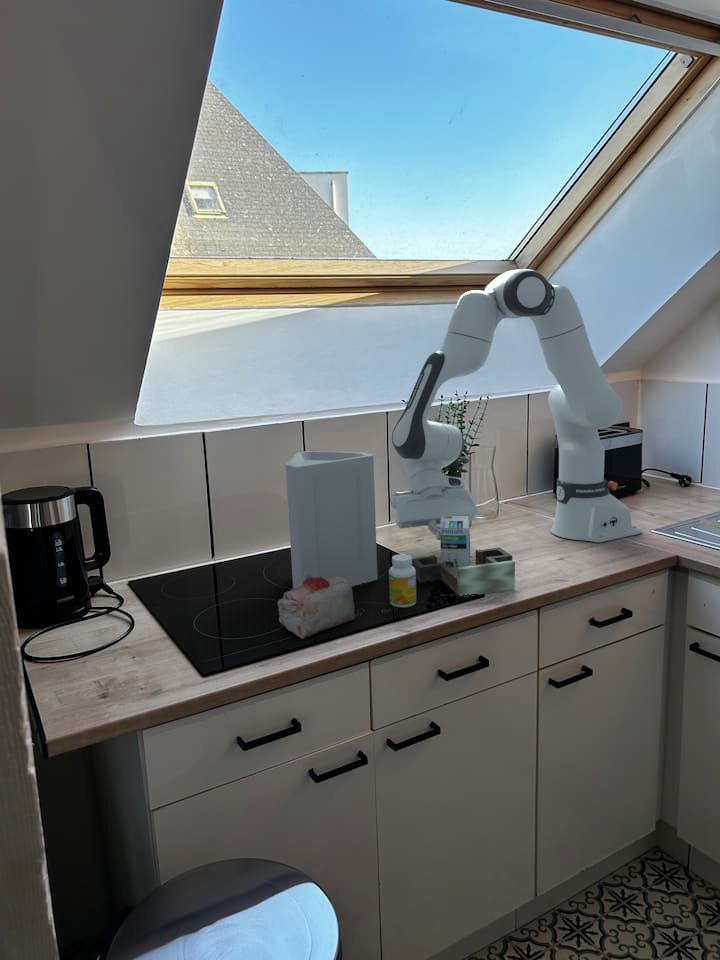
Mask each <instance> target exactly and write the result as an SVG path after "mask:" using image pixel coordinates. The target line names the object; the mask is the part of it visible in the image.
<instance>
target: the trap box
mask: <svg viewBox="0 0 720 960" xmlns="http://www.w3.org/2000/svg"><path fill="white" fill-rule="evenodd" d="M411 566H413V567H414V568H415V571H416V581H418V582H419V583H420V584H421V583H422V582H424V583H427V582H426V581H431V582H436V581H435V580H439V581H441V580H442V581H443V582H444V583H445V584H444V583H443V582H442V581H441V582H442V583H443V584H444V585H446V584H447V585H448V586H449V587H450V588H451V589H452V590H453V591H454V592H455V593H456V594H455V593H454V592H453V591H452V590H451V589H450V588H449V587H448V586H447V585H446V586H447V587H448V588H449V589H450V590H451V591H452V592H453V593H454V594H455V595H457V594H458V595H459V596H463V595H468V594H469V595H471V594H478V595H485V594H492V593H498V592H499V593H500V592H506V591H513V590H516V589H515V588H516V586H515V583H516V582H515V581H516V578H515V577H516V573H515V572H516V562H515V561H514V560H513V555H512V554H510V553H509V552H508V551H506V550H504V549H503V548H501V547H493V548H485V549H475V564H473V565H470V566H465V567H458V568H457V573H456V572H454V571H453V570H452V569H451V568H450V567H448V566H447V565H446V564H445V563H441V562H438V557H437V555H435V554H434V555H429V556H421V557H414V558H413V557H412V564H411ZM458 595H457V596H458ZM459 596H458V597H459ZM471 596H472V595H471Z"/></svg>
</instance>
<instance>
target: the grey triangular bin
mask: <svg viewBox="0 0 720 960" xmlns="http://www.w3.org/2000/svg"><path fill="white" fill-rule="evenodd" d="M285 475H286V492H287V493H286V494H287V509H288V510H287V512H288V523H289V524H288V525H289V540H290V541H289V543H290V557H291V559H290V560H291V575H292V589H294V588H297V587H300V586H303V581H304V580H305V579H306V578H307V575H308V574H309V575H311V577H313V578H316V577H318V578H319V577H322V578H324V579H327V578H331V577H334V576H339V577H342V578H344V579H345V580H346V581H347V582H350V583H351V587H352V588H353V587H355V585H356V586H359V585H362V583H363V584H366V583H370V582H373V581H374V580H375V581H377V580H378V578H379V577H378V558H377V557H378V555H377V553H378V552H377V549H378V548H377V526H376V499H375V497H376V496H375V495H376V493H375V465H374V454H371V453H367V452H360V451H359V452H357V451H355V452H354V451H325V450H323V451H322V450H321V451H319V450H315V451H314V450H307V451H300V452H299V451H298V452H296V453H295V454H294V455H293V456H292V457H291V458H290V459H289V460H288V461H286V463H285Z"/></svg>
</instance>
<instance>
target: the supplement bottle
mask: <svg viewBox="0 0 720 960" xmlns="http://www.w3.org/2000/svg"><path fill="white" fill-rule="evenodd" d="M412 558H413V557H412V556H411V555H409V554H405V553H404V554H403V553H400V554H395V555H392V557H391V564H392V566H391V567H390V568H389V569H388V580H389V581H388V582H389V586H388V587H389V604H390V605H391V606H393V607H396V608H410V607H412V606H414V605H416V603H417V579H416V571H415V568H414V567H413V566H411V564H412Z"/></svg>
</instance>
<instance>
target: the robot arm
mask: <svg viewBox="0 0 720 960" xmlns="http://www.w3.org/2000/svg"><path fill="white" fill-rule="evenodd" d="M523 317H524V318H525V317H526V318H527V317H528V318H529V319H530V321H532V323H533V325H534V327H535V330H536V334H537V337H538V341H539V343H540V346H541V350H542V352H543V353H542V354H543V356H544V360H545V363H546V366H547V369H548V370H549V372H551V374H552V375H553V377H554V378H555V380H556V382H557V383H558V384H556V385H555V386H554V387H553V388H552V389H551V391H549V394H548V400H547V403H548V404H547V405H548V409H549V410H550V412H551V414H552V418H553V423H554V428H555V432H556V437H557V443H558V478H557V479H556V501H557V503H556V510H555V515H554V520H553V523H552V527H551V529H550V532H551V533H552V534H553V535H555V536H557V537H561V538H563V539H568V540H577V541H586V542H588V541H589V542H593V543H603V542H607V541H608V542H609V541H612V540H617V539H621V538H626V537H631V536H635V535H639V534H641V533H642V531H641V528H640V526H638V525H636V524H635V523H633V522H632V514H631V511H630V509H629V507H628V506H627V505H626V504H624V503H623V502H622V501H620V500H619V499H617V498H616V497H615V496H614V495H612V494H611V493H610V489H611V490H612V491H616V490H617V488H618V487H619V484H618V483H617V482H616V481H612V480H610V481H608V480H607V479H605V448H604V445H603V443H602V441H601V439H600V435H599V431H598V430H602V429H608V428H610V427H611V426H613V425H614V424H616V423H617V421H618V420H619V419H620V417H621V415H622V412H623V403H622V399H621V397H620V396H619V394H618V393H617V392H616V390H614V389H613V388H612V386H611V384H610V383H609V381H608V379H607V378H606V375H605V374H604V372H603V370H602V369H601V368H602V367H601V366H600V365H599V363H598V361H597V359H596V357H595V354H594V352H593V349H592V346H591V343H590V340H589V336H588V332H587V330H586V326H585V323H584V320H583V316H582V314H581V311H580V308H579V305H578V304H577V302H576V300H575V297H574V295H573V294H572V292H571V290H570V289H569V288H568V287H567V286H565V285H561V284H551V283H550V282H549V281H548V280H547V279H546V277H545V276H544V275H543V274H541V273H540V272H539V271H537V270H533V269H531V268H530V269H529V268H523V269H513V270H509V271H506V272H504V273H502V274H501V273H500V274H498V275H496V276H495V277H493V278H492V279H491V280H489V281H488V283H486V285H485V286H484V288H482V290H479V289H478V290H477V289H475V290H474V289H473V290H469V291H467V292H465V293H463V294H462V295H461V296H460V297H459V298H458V301H457V303H456V306H455V308H454V310H453V312H452V315H451V317H450V320H449V324H448V327H447V329H446V330H447V331H446V334H445V337H444V339H443V341H442V343H441V344H440V346H439V348H438V349H437V350H436V351H434V352H432V353H431V354H430V355H428V357H427V358H426V360H425V362H424V364H423V365H422V368H421V371H420V373H419V374H418V377H417V380H416V382H415V385H414V387H413V389H412V392H411V394H410V395H409V399H408V401H407V404H406V406H405V408H404V411H403V413H402V414H401V415H400V418H399V419H398V421H397V423H395V426H394V428H393V431H392V434H391V443H392V445H393V448H394V450H395V451H396V453H397V454H398V456H400V458H401V462H402V466H403V469H404V472H405V473H406V475H407V482H408V487H409V490H407V491H402V492H401V491H400V492H399V491H396V492H394V493H393V494H392V495H390V498H389V499H390V505H391V507H392V508H393V512H394V519H395V524H396V527H398V528H400V529H408V528H418V527H424V526H425V527H426V526H427V529H428V530H429V531H430V532H431V533H432V534H433V535H434V536H435V538H436V541H440V528H438V527H437V526H436V525H440V523H441V517H442V516H469V522H470V521H473V520H474V519H475V517H476V516H477V514H478V507H477V505H476V502H475V499H474V497H473V495H472V493H471V492H470V491H469V490H468V489H467V488H465V487H466V481H465V479H463V478H459V477H454V476H450V475H449V476H448V475H446V474H443V472H442V470H443V469H444V468H447V467H449V466H450V465H452V464H454V462H456V461H457V460H458V459H459V458H460V457H461V455H462V453H463V451H464V448H465V439H464V434H463V432H462V431H461V430H460V428H459V427H458V426H456V425H453V424H449V423H446V422H438V421H433V420H428V419H427V417H428V414H429V411H430V409H431V407H432V405H433V402H434V400H435V397H436V395H437V392H438V390H439V389H440V388H441V386H442V385H443V384H444V383H446V382H447V381H450V380H452V379H456V378H459V377H465V376H468V375H472V374H474V373H475V372H477V371H478V370H480V369H481V368H482V367H483V366H484V365H485V363H486V362H487V359H488V358H489V354H490V351H491V346H492V343H493V338H494V337H495V336H494V335H495V331H496V329H497V327H498V325H499V324H500V322H501V321H502V320H503V319H519V318H523Z"/></svg>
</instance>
